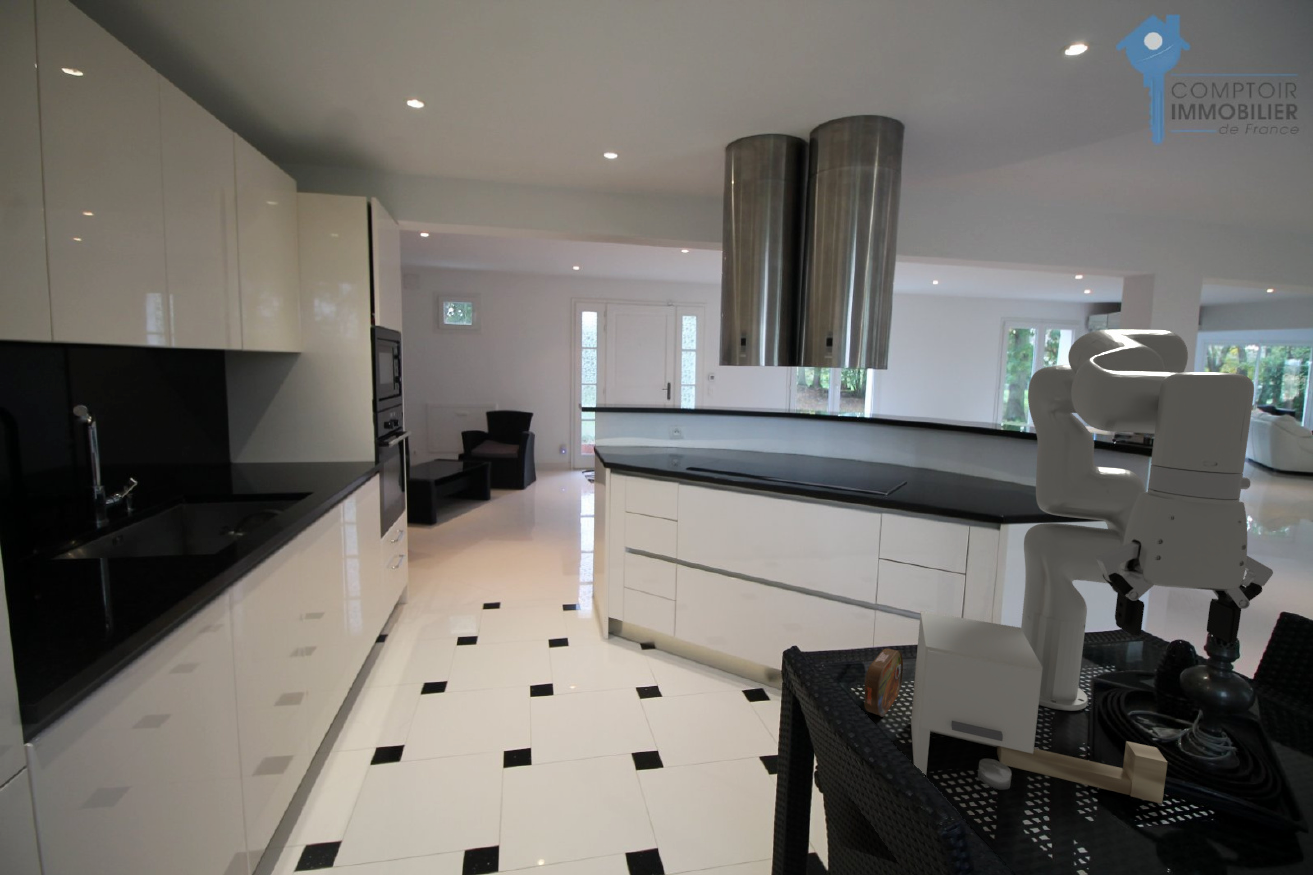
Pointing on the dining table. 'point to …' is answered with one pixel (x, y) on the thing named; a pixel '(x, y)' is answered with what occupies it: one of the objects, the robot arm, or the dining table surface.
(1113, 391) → the robot arm
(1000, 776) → the puck
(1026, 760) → the wooden l-shaped bar
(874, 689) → the tin
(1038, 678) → the cabinet
